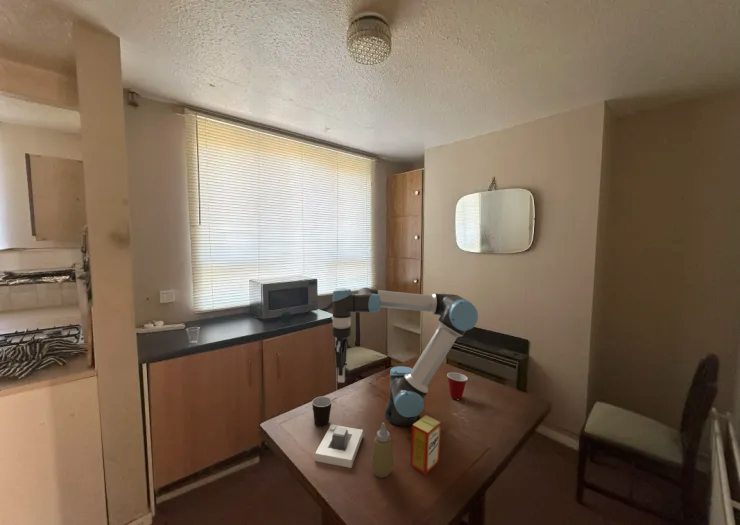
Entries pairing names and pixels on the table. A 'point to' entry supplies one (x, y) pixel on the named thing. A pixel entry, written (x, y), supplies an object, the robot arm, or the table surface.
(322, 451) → the socket plate
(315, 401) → the coffee mug
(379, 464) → the squeeze bottle
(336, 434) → the plug
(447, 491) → the table surface
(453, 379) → the plastic cup
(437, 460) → the baking soda box
